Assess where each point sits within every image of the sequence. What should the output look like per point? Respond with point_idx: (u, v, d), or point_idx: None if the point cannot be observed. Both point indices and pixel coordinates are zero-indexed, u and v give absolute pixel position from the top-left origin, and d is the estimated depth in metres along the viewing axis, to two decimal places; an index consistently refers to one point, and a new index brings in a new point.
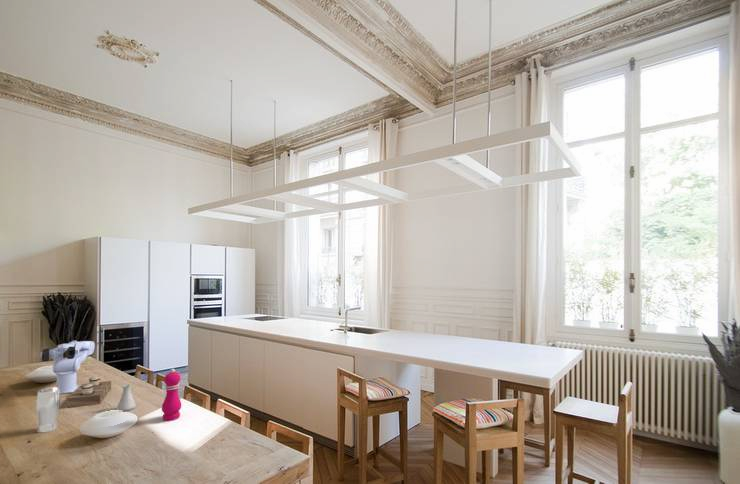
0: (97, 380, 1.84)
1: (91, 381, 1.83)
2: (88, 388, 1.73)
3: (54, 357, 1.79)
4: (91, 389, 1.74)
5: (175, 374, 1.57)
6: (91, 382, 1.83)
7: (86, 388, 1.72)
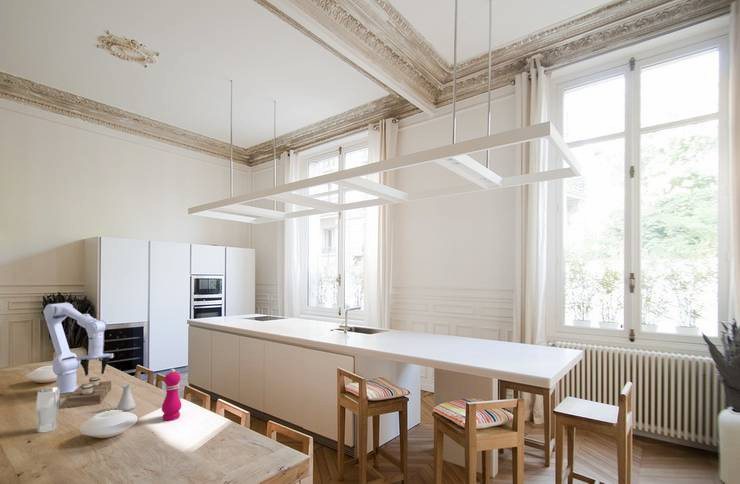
0: (97, 380, 1.84)
1: (91, 381, 1.83)
2: (88, 388, 1.73)
3: None
4: (91, 389, 1.74)
5: (175, 374, 1.57)
6: (91, 382, 1.83)
7: (86, 388, 1.72)
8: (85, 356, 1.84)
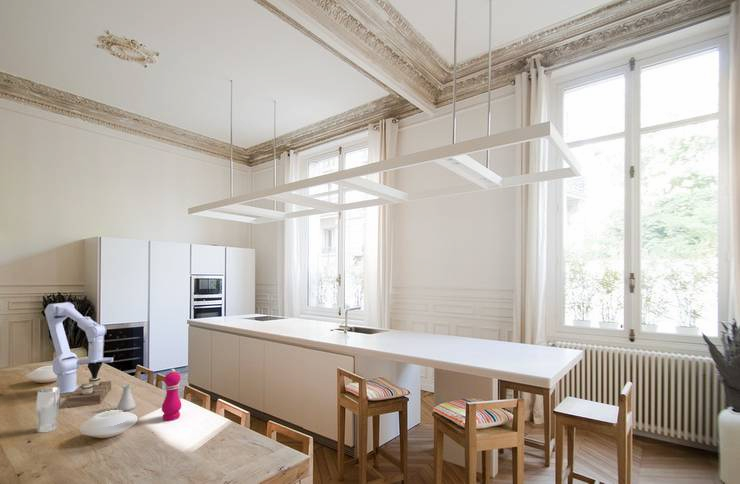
0: (97, 380, 1.84)
1: (91, 381, 1.83)
2: (88, 388, 1.73)
3: None
4: (91, 389, 1.74)
5: (175, 374, 1.57)
6: (91, 382, 1.83)
7: (86, 388, 1.72)
8: (85, 360, 1.84)
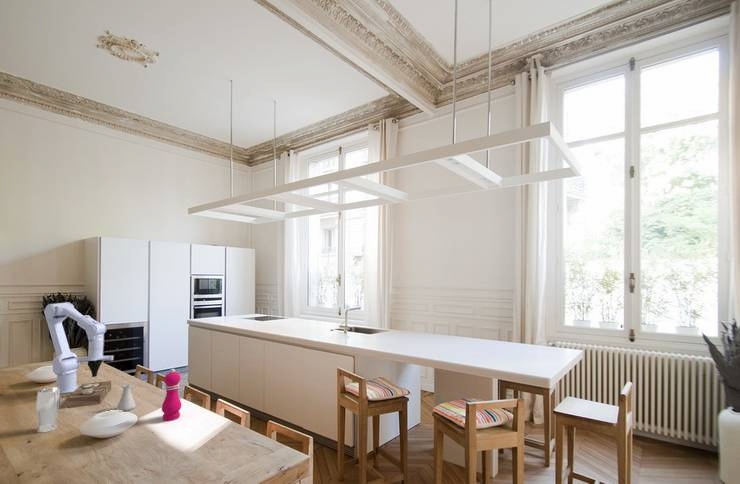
0: None
1: None
2: (88, 388, 1.73)
3: None
4: (91, 389, 1.74)
5: (175, 374, 1.57)
6: None
7: (86, 388, 1.72)
8: (85, 358, 1.84)
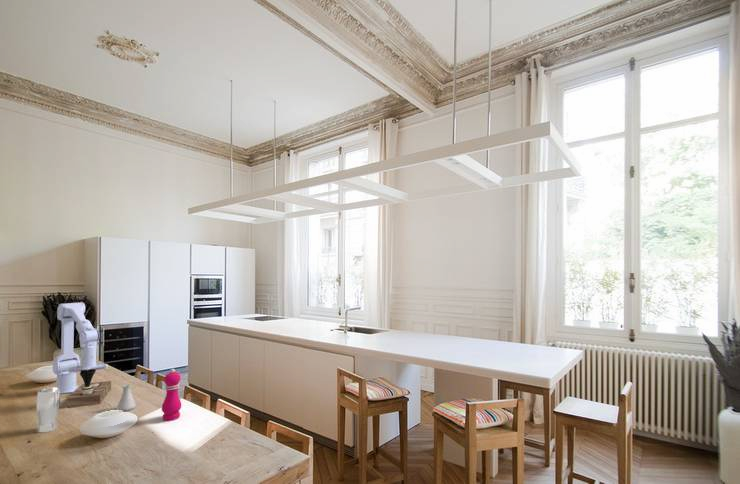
0: None
1: None
2: (88, 389, 1.73)
3: None
4: (91, 390, 1.74)
5: (175, 374, 1.57)
6: None
7: (86, 389, 1.72)
8: (77, 367, 1.73)
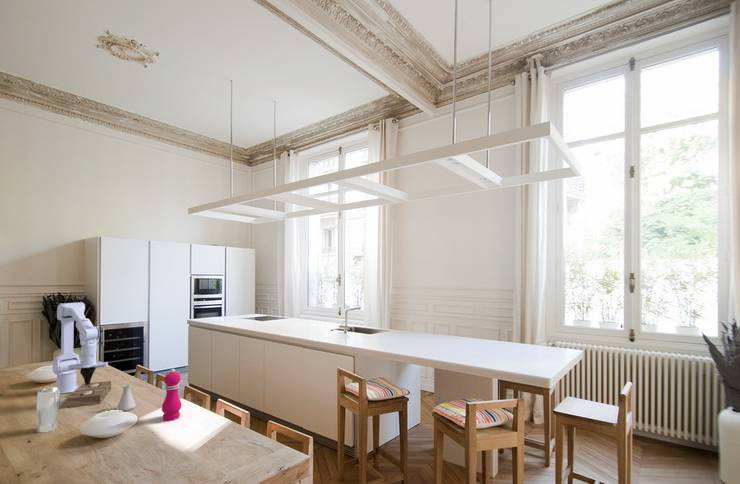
0: None
1: None
2: None
3: None
4: None
5: (175, 374, 1.57)
6: None
7: None
8: (77, 365, 1.73)
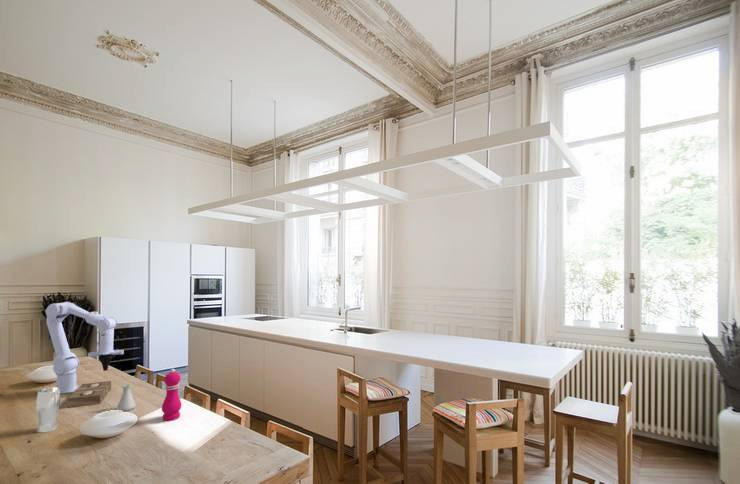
0: None
1: None
2: None
3: None
4: None
5: (175, 374, 1.57)
6: None
7: None
8: (96, 352, 1.87)
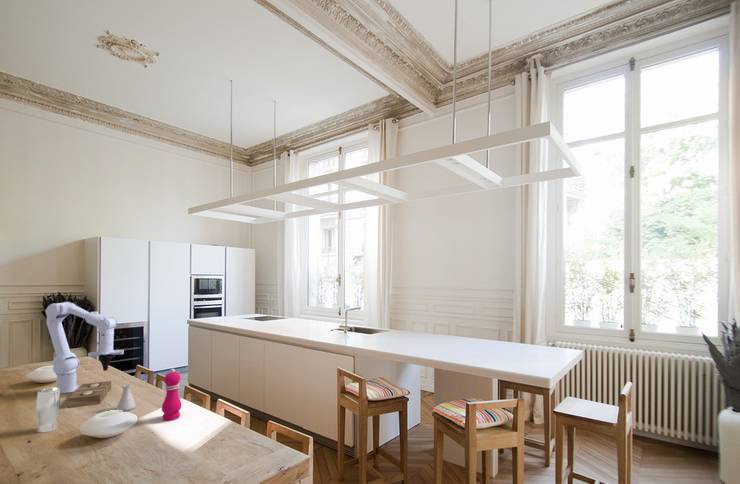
0: None
1: None
2: None
3: None
4: None
5: (175, 374, 1.57)
6: None
7: None
8: (96, 352, 1.87)
